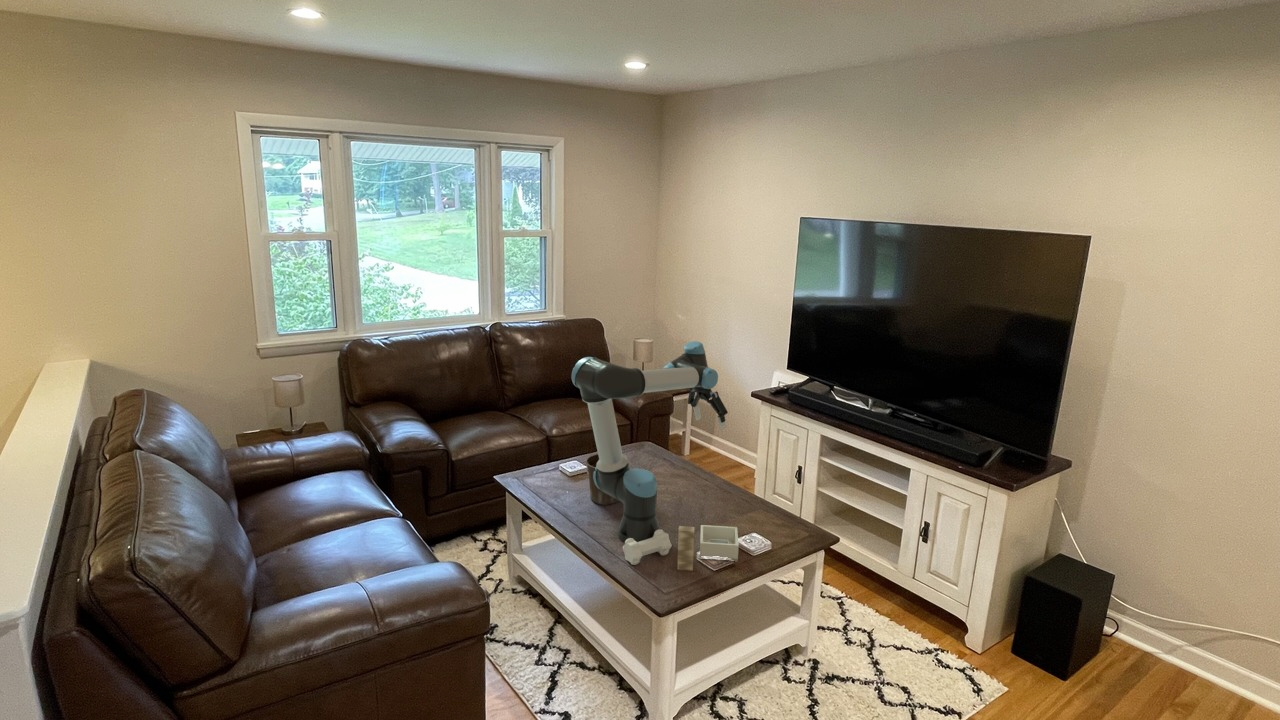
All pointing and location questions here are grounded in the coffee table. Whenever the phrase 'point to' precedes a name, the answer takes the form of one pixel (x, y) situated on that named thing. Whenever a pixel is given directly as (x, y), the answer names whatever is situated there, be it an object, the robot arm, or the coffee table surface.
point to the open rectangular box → (719, 541)
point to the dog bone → (646, 547)
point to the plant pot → (594, 490)
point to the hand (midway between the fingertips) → (710, 423)
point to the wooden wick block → (685, 548)
